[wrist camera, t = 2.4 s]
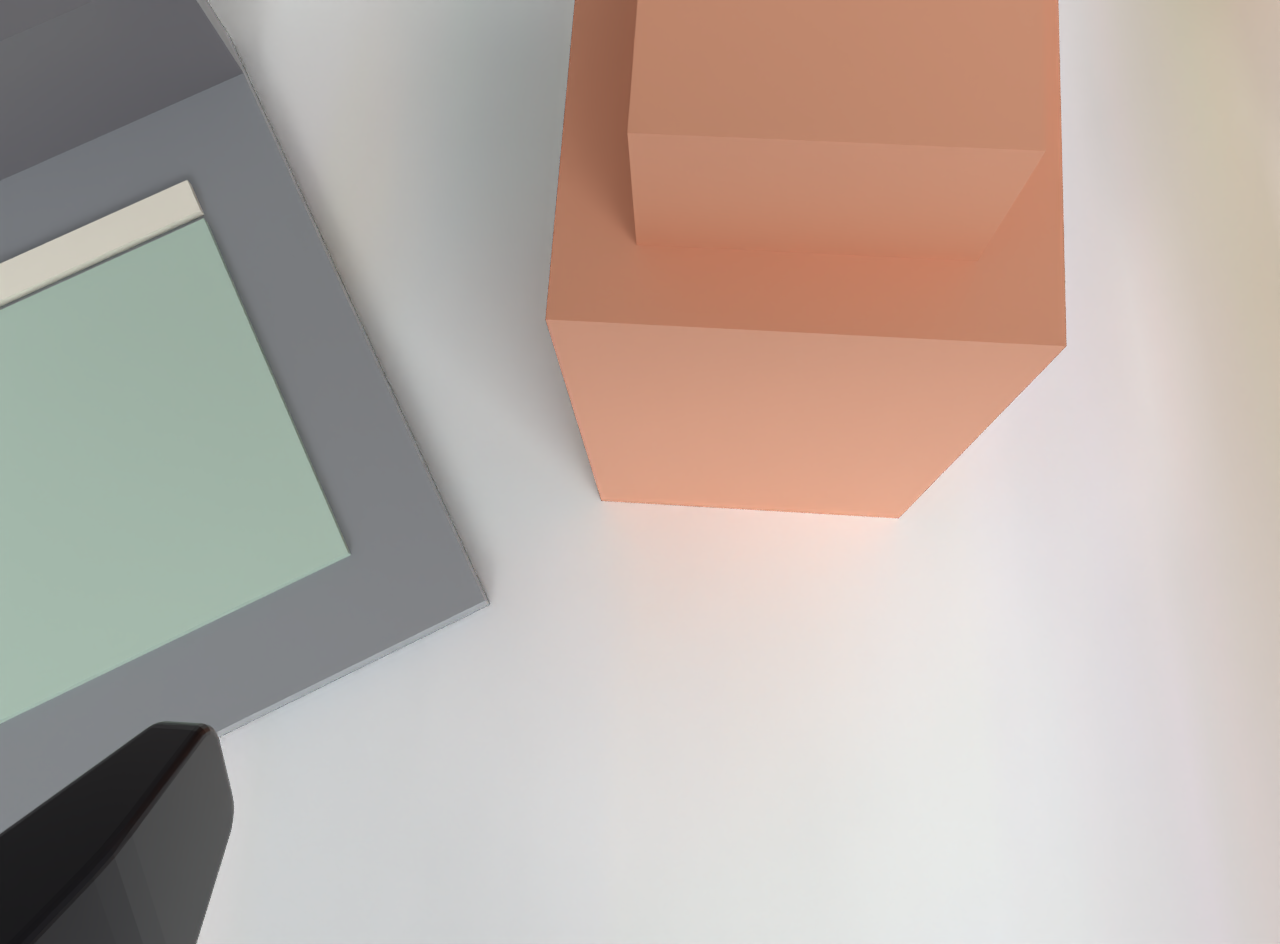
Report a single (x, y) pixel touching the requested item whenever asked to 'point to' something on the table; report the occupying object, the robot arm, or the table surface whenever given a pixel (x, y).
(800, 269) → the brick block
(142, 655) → the tray
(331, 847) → the table surface
